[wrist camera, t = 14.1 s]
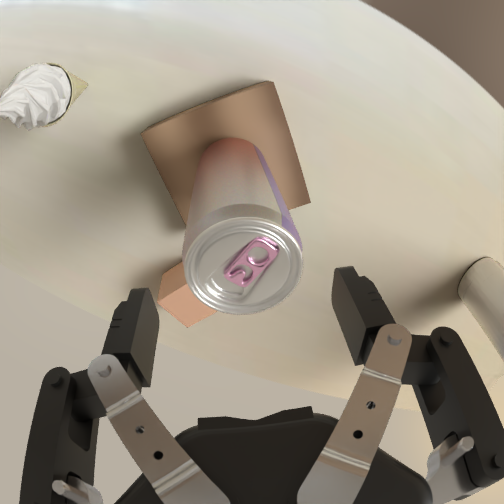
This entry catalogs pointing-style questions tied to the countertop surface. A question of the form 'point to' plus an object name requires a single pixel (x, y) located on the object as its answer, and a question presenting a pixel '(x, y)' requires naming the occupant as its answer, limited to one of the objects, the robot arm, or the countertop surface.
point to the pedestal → (220, 127)
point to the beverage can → (239, 233)
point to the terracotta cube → (181, 298)
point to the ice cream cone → (40, 95)
